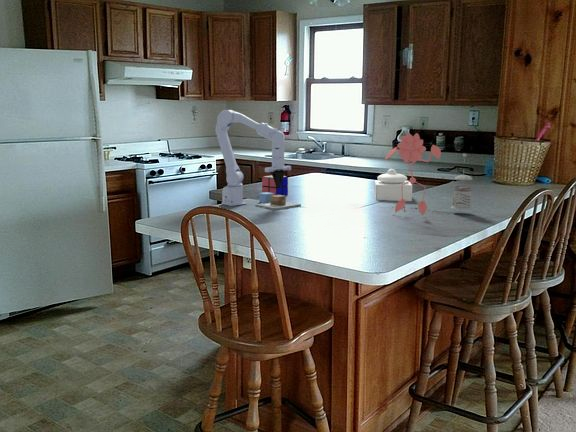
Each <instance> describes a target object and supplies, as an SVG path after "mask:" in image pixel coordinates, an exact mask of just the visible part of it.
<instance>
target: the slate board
mask: <svg viewBox="0 0 576 432" xmlns="http://www.w3.org/2000/svg"><path fill="white" fill-rule="evenodd" d="M258 206H260V207H259V208H262V207H265V208H264V209H267V208H269V209H268V210H271V209H273V210H272V211H281V210H286V209H292V208H299V207H300V208H301V207H302V204H301V203H296V202H290V201H286V204H285V205H278V206H277V205H272V204H271V202H269V203H256V204H255V207H258ZM280 209H281V210H280Z"/></svg>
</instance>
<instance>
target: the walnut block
mask: <svg viewBox="0 0 576 432" xmlns="http://www.w3.org/2000/svg"><path fill="white" fill-rule="evenodd" d="M286 202H287V195H285V196H283V195H273V196H271V204H272V205H277V206H278V205H285V204H286Z"/></svg>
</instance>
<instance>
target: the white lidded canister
mask: <svg viewBox="0 0 576 432" xmlns="http://www.w3.org/2000/svg"><path fill="white" fill-rule="evenodd" d="M376 177H377V180H374V182H373V183H374V184H373V185H374V188H373V193H374V194H373V195H374V198H375V201H395V202H396V201H397V202H398V201H400V200H401V199H402V190H403V199H405V202H412V201H413V184H412V183H410V182H408V181H409V180H408V177H407V176H406V175H405V174H402V173H397V170H396V169H394V168H389V169H388V170H387V172H386V173H382V174H380V175H378V176H376ZM406 182H408V183H406ZM404 183H406V184H404ZM402 184H404V185H402Z"/></svg>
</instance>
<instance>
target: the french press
mask: <svg viewBox="0 0 576 432" xmlns="http://www.w3.org/2000/svg"><path fill="white" fill-rule="evenodd" d="M467 156H468V155H467V154H466V153H462V157H463V162H465V161H466V160H465V158H466V157H467ZM462 173H463V174H459V175H458V176H457V175H456V176H455V177H454V180H456V181H472V180H473V177H471V176H469V175H466V174H465V170H463V172H462ZM454 180H453V181H450V182H449V183H448V185H447V189H449V187H450V185H451V184H452V183H453V185H455V184H456V182H455V181H454ZM454 188H455V189H454V190H453V195H451V194H450V192H449V190H447V193H448V195H449V196H450V197H452V205H451V206H450V208H451V209H454V210H458V211H459V210H461V211H462V210H464V211H467V210H468V211H469V210H473V209H474V208H473V206H471V205H472V204H471V202H472V190H471V188H472V187H471V186H468V185H467V186H465V185H456V186H454Z"/></svg>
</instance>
